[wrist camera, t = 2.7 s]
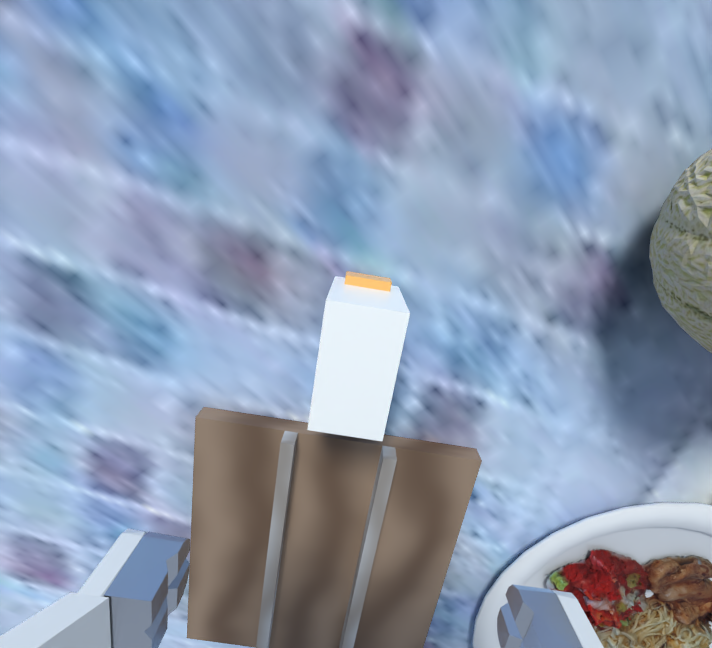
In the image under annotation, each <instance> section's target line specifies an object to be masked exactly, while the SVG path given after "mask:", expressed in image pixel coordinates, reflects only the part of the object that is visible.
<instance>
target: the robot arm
mask: <svg viewBox="0 0 712 648" xmlns="http://www.w3.org/2000/svg"><path fill="white" fill-rule="evenodd" d="M189 551H190V539H187V538H182V537H176V536H170V535H165V534H159V533H153V532H147V531H140V530H134V529H127V530H126V531H124V532H123V533H122V534H121V535H120V536H119V537H118V539H117V540H116V541H115V543H114V544H113V545H112V547H111V548H110V549H109V551H108V552H107V553H106V555H105V556H104V558H103V559H102V560H101V562H100V563H99V564H98V566H97V567H96V568H95V570H94V571H93V572H92V574H91V575H90V576H89V578H88V579H87V580H86V582H85V583H84V584H83V586H82V587H81V588H80V590H79V591H78V592H77V593H76V592H70V593H68V594H66V595H65V596H63V597H62V598H60V599H58V600H57V601H55V602H54V603H52V604H50V605H49V606H47V607H46V608H44V609H42V610H41V611H39V612H38V613H36V614H34V615H33V616H31V617H30V618H28V619H26V620H25V621H23V622H22V623H20V624H18V625H17V626H15V627H14V628H12V629H10V630H9V631H7V632H6V633H4V634H2V635H1V636H0V648H158V647H159V645H160V643H161V640H162V638H163V636H164V634H165V632H166V630H167V617H168V615H169V614H170V613H171V612H172V611H174V610H175V609H176V608H177V606H178V604H179V602H180V600H181V597H182V595H183V592H184V589H185V586H186V583H187V579H188V574H189V564H190V563H189V562H188V561H187V559H186V557H187V555H188V553H189ZM505 595H506V598H507V600H508V603H506V604H505V605H503V606H502V607H500V611H499V614H498V617H497V633H498V639H499V644H500V647H501V648H604V647H603V645H602V643H601V642H600V640H599V638H598V636H597V634H596V633H595V631H594V629H593V627H592V625H591V623H590V622H589V620H588V618H587V616H586V614H585V613H584V611H583V609H582V607H581V605H580V603H579V602H578V600H577V598H576V597H575V596H574V595H573V594H572V593H570V592H563V591H556V590H549V589H544V588H536V587H529V586H521V585H513V584H512V585H511V586H510V587H508V590H507V592H506V594H505Z"/></svg>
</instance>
